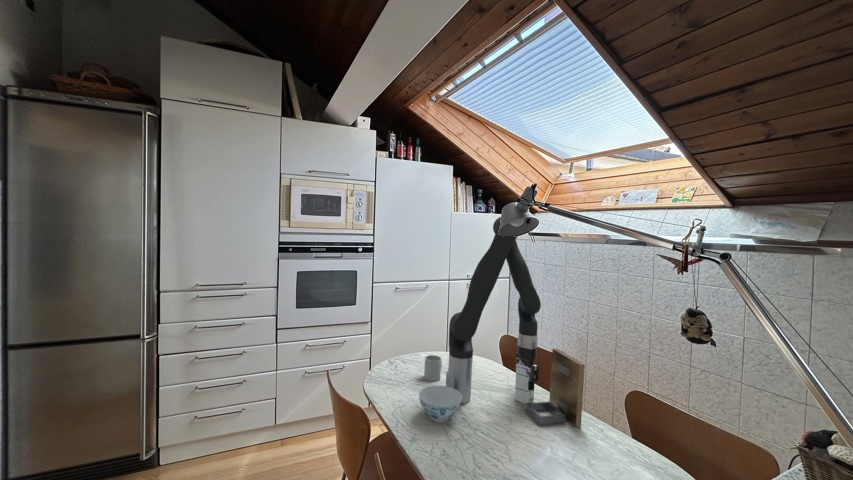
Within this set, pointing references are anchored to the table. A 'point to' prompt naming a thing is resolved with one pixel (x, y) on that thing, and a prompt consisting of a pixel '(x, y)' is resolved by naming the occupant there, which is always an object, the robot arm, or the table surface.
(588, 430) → the table surface
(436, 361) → the cup
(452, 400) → the chinaware
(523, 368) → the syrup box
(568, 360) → the wooden board with tray
